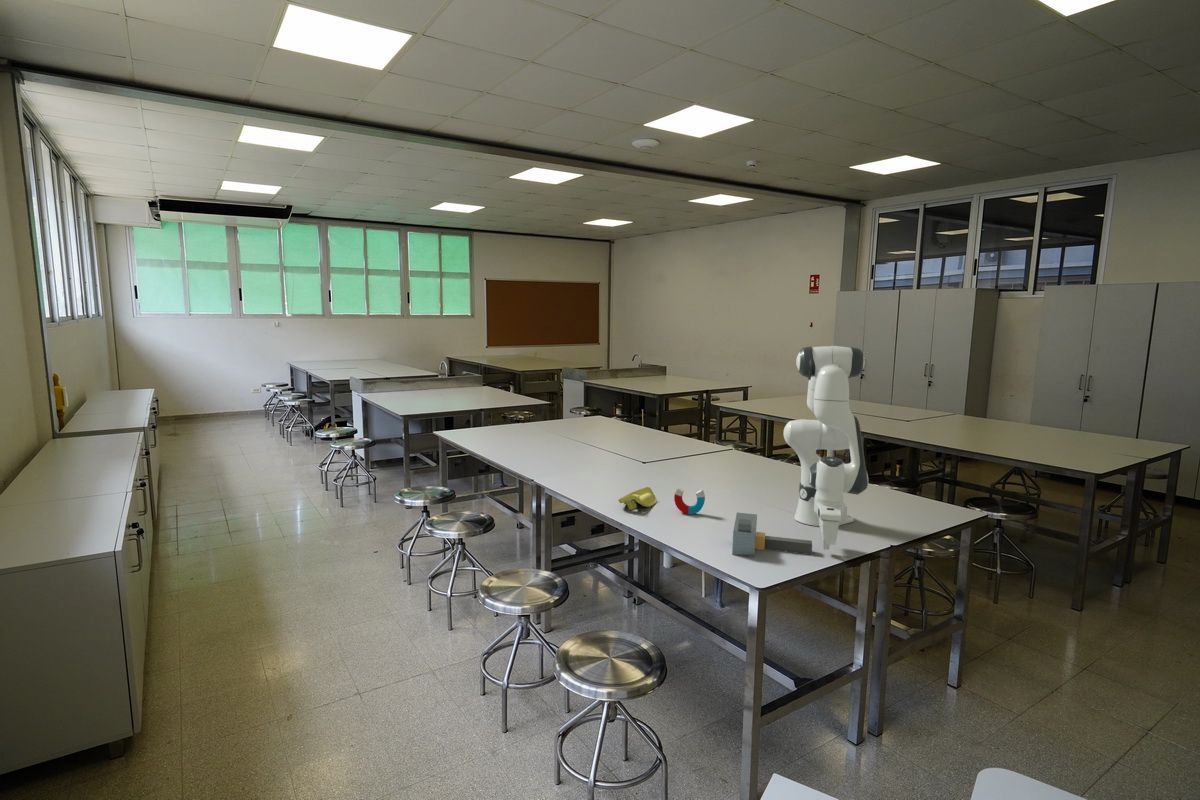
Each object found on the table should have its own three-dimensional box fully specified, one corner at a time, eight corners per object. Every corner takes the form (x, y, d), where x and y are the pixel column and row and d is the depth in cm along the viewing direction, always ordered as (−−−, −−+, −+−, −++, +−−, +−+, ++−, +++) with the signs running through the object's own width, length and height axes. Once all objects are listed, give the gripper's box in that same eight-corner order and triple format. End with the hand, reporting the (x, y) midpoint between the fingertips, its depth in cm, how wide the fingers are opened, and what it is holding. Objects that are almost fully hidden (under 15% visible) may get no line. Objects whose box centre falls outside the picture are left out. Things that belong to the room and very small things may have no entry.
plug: (810, 550, 201) (811, 537, 201) (811, 555, 197) (812, 542, 196) (745, 543, 207) (746, 530, 206) (745, 547, 203) (745, 535, 202)
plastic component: (631, 492, 257) (651, 485, 254) (637, 508, 257) (658, 501, 253) (614, 501, 239) (635, 493, 235) (620, 519, 238) (642, 511, 235)
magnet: (704, 514, 237) (705, 489, 236) (703, 516, 235) (704, 491, 233) (674, 510, 241) (675, 486, 239) (673, 512, 238) (674, 488, 237)
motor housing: (756, 536, 213) (757, 507, 212) (754, 557, 194) (755, 526, 193) (735, 534, 215) (737, 505, 214) (732, 554, 196) (733, 523, 195)
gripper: (816, 497, 207) (813, 536, 208) (820, 515, 187) (817, 558, 189) (835, 499, 205) (832, 538, 207) (842, 517, 185) (839, 560, 187)
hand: (825, 548), depth 198 cm, fingers closed
